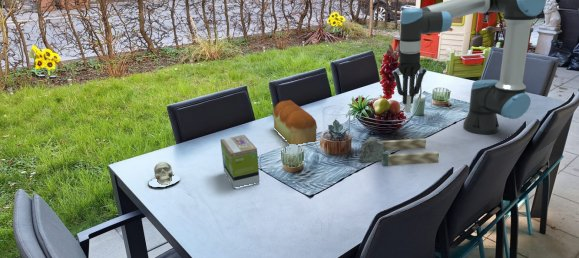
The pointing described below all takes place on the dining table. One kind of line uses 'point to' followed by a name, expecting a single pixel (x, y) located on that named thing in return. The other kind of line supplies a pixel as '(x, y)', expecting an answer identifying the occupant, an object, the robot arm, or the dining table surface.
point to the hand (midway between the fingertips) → (407, 111)
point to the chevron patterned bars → (410, 157)
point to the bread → (294, 123)
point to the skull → (163, 173)
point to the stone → (371, 150)
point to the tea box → (240, 160)
